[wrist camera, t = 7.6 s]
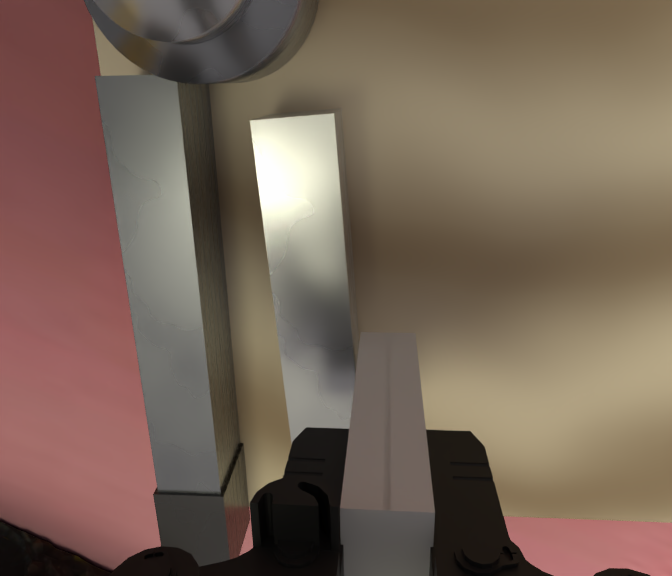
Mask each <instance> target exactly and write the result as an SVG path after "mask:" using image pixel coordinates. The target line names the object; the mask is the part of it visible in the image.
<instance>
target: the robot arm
mask: <svg viewBox="0 0 672 576" xmlns="http://www.w3.org/2000/svg"><path fill="white" fill-rule="evenodd" d="M250 512H251V524H252V537H253V548H252V549H251V550H250V551H248V552H246V553H244V554H242V555H240V556H239V557H236V558H233V559H230V560H227V561H223V562H218V563H214V564H209V565H204V566H199V565H198V563H197V562H196V560H195V559H194V557H193V556H192V554H190V553H188V552H186V551H184V550H182V549H180V548H177V547H166V546H161V547H156V548H151V549H146V550H144V551H142V552H140V553H137V554H135V555H133V556H131V557H129V558H128V559H127V560H125V561H124V562H123V563H122V564H121V565H119V566H118V567H117V568H116V569H115V570H114V571H113V572H112V573H111V574H110V575H109V576H553V575H550V574H548V573H545V572H543V571H541V570H540V569H538V568H536V567H535V566H533V565H531V564H530V563H529V562H528V561H526V560H525V558H524V556H523V554H522V552H521V551H520V549H519V547H518V546H516V545H515V544H514V543H513V542H512V541H511V540H510V538H509V535H508V532H507V528H506V524H505V521H504V517H503V513H502V509H501V506H500V502H499V498H498V494H497V491H496V487H495V483H494V481H493V476H492V472H491V468H490V467H489V461H488V457H487V453H486V450H485V446H484V445H483V444H482V443H481V442H480V441H479V440H478V439H477V438H476V437H475V435H474V434H473V433H472V432H471V431H453V430H426V426H425V416H424V407H423V398H422V389H421V380H420V371H419V361H418V352H417V343H416V334H415V333H388V332H361V333H360V342H359V350H358V359H357V367H356V376H355V384H354V393H353V401H352V410H351V418H350V427H349V429H342V428H313V427H306V428H305V429H304V430H303V431H302V432H301V433H300V434H299V435H298V436H297V437H296V438H295V439H294V440H293V442H292V445H291V449H290V453H289V456H288V461H287V464H286V467H285V471H284V475H283V478H281V479H278V480H276V481H273V482H270V483H268V484H267V485H265V486H264V487H262V488H261V489H260V490H258V491H257V492H256V494H255V495H254V497H253V498H252V500H251V501H250ZM594 576H650V575H648V574H644V573H641V572H637V571H634V570H630V569H614V568H609V569H607V570H604V571H601V572H598V573H596V574H595V575H594Z"/></svg>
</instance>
